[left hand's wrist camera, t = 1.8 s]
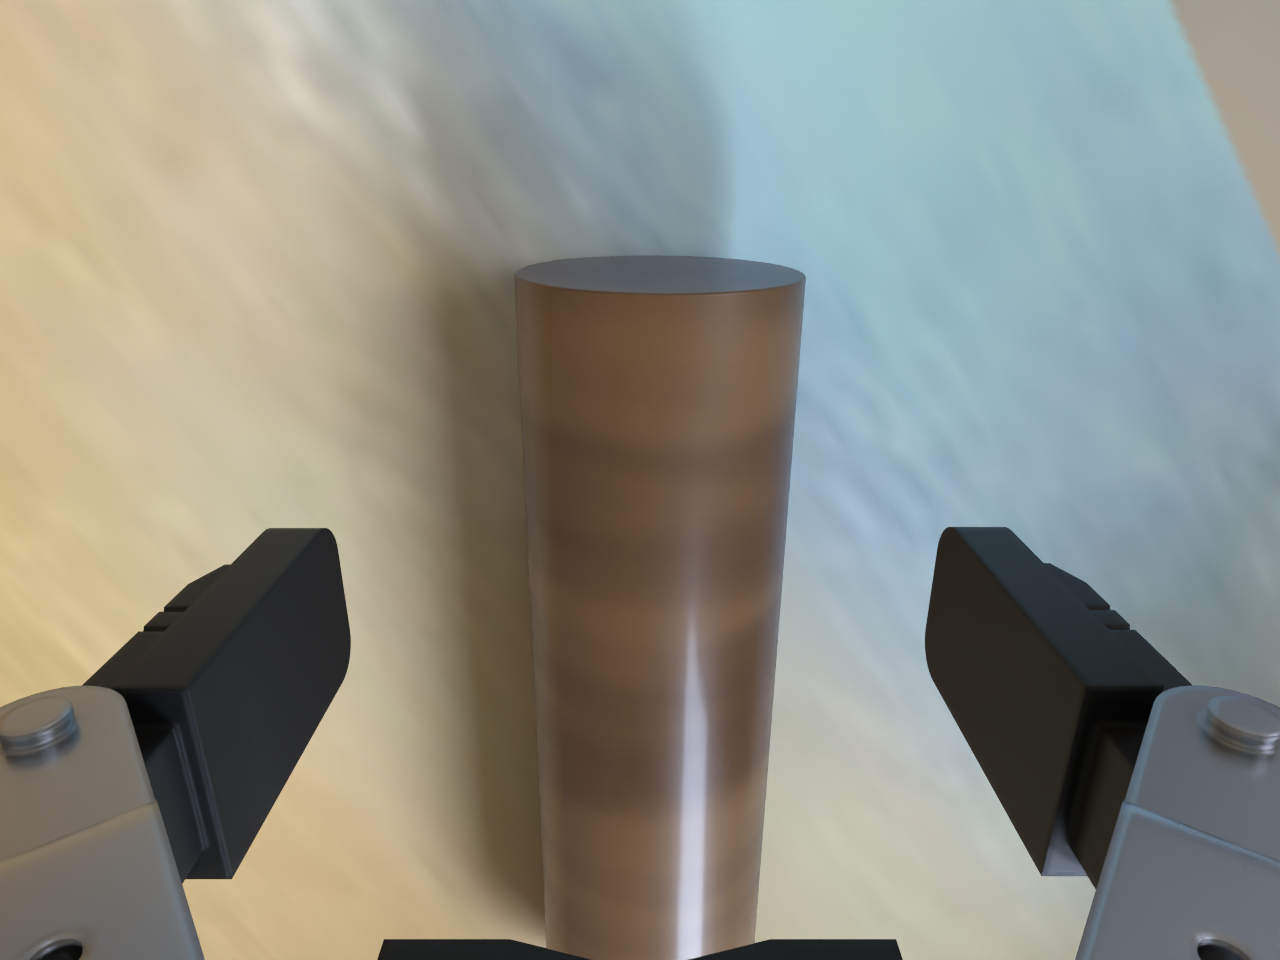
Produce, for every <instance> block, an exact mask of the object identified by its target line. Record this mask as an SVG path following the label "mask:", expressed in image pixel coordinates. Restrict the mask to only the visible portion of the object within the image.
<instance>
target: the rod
mask: <svg viewBox="0 0 1280 960" xmlns="http://www.w3.org/2000/svg"><path fill="white" fill-rule="evenodd" d="M805 280H806V277H805V275H804V274H803V273H802V272H800V271H798V270H795V269H792V268H789V267H785V266H780V265H775V264H769V263H763V262H755V261H747V260H737V259H725V258H710V257H688V256H612V257H592V258H578V259H567V260H558V261H551V262H544V263H539V264H534V265H530V266H527V267H524V268H521V269H520V270H518V271H517V272H516V273H515V295H516V316H517V337H518V358H519V379H520V400H521V421H522V442H523V463H524V484H525V505H526V526H527V547H528V568H529V589H530V610H531V631H532V653H533V674H534V695H535V716H536V737H537V758H538V779H539V800H540V821H541V842H542V863H543V884H544V905H545V926H546V947H547V949H551V950H555V951H559V952H563V953H567V954H571V955H575V956H579V957H583V958H587V959H591V960H689V959H693V958H697V957H701V956H705V955H709V954H713V953H717V952H721V951H725V950H729V949H733V948H738V947H742V946H746V945H750V944H754V941H755V928H756V915H757V902H758V889H759V876H760V863H761V850H762V837H763V824H764V811H765V798H766V785H767V772H768V759H769V746H770V734H771V721H772V708H773V695H774V682H775V669H776V656H777V643H778V630H779V617H780V604H781V591H782V578H783V565H784V552H785V539H786V526H787V513H788V501H789V488H790V475H791V462H792V449H793V436H794V423H795V410H796V397H797V384H798V371H799V358H800V345H801V332H802V319H803V306H804V293H805Z"/></svg>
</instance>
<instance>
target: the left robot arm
mask: <svg viewBox="0 0 1280 960" xmlns="http://www.w3.org/2000/svg"><path fill="white" fill-rule="evenodd" d="M350 647H351V639H350V628H349V622H348V615H347V608H346V601H345V595H344V588H343V581H342V574H341V568H340V561H339V554H338V548H337V543H336V540H335V537H334V535H333V534H332V532H331V531H330V530H329V529H327V528H269V529H266V530H265V531H264V532H263V533H262V534H261V535H260V536H259V537H258V538H257V539H256V540H255V541H254V542H253V543H252V544H251V545H250V546H249V547H248V548H247V549H246V550H245V551H244V552H243V553H242V554H241V555H240V556H239V557H238V558H237V559H236V560H235V561H234V562H233V563H232V564H231V565H223V566H222V567H220V568H218V569H216V570H214V571H212V572H210V573H208V574H207V575H205V576H203V577H201V578H199V579H197V580H195V581H193V582H192V583H190V584H188V585H187V586H186V587H185V588H184V589H183V590H182V591H181V592H180V593H179V594H177V595H176V596H175V597H174V598H173V599H172V600H171V601H170V602H169V603H168V604H167V605H166V606H165V607H164V612H159V613H158V614H157V615H155V616H154V617H153V618H152V619H151V620H150V621H149V622H148V623H147V624H146V625H145V626H144V631H143V632H138V633H137V634H136V635H135V636H133V637H132V638H131V639H130V640H129V641H128V642H127V643H126V644H125V645H124V646H123V647H122V648H121V649H120V650H119V651H118V652H117V653H116V654H115V655H114V656H113V657H111V658H110V659H109V660H108V661H107V662H106V663H105V664H104V665H103V666H102V667H101V668H100V669H99V670H98V671H97V672H96V673H95V674H94V675H93V676H92V677H91V678H89V679H88V680H87V681H86V682H85V683H84V684H83V685H82V686H72V687H63V688H58V689H53V690H48V691H45V692H41V693H37V694H33V695H31V696H28V697H25V698H22V699H19V700H16V701H14V702H12V703H9V704H7V705H4V706H2V707H0V960H205V959H204V956H203V952H202V949H201V946H200V942H199V939H198V936H197V932H196V929H195V926H194V922H193V919H192V916H191V912H190V909H189V906H188V902H187V899H186V896H185V892H184V889H183V886H182V883H183V882H184V880H185V879H232V878H233V876H234V874H235V872H236V870H237V869H238V867H239V865H240V863H241V862H242V860H243V858H244V856H245V854H246V853H247V851H248V849H249V847H250V846H251V844H252V842H253V840H254V838H255V837H256V835H257V833H258V831H259V830H260V828H261V826H262V824H263V822H264V821H265V819H266V817H267V815H268V814H269V812H270V810H271V808H272V806H273V805H274V803H275V801H276V799H277V798H278V796H279V794H280V792H281V790H282V789H283V787H284V785H285V783H286V782H287V780H288V778H289V776H290V774H291V773H292V771H293V769H294V767H295V766H296V764H297V762H298V760H299V758H300V757H301V755H302V753H303V751H304V750H305V748H306V746H307V744H308V743H309V741H310V739H311V737H312V735H313V734H314V732H315V730H316V728H317V727H318V725H319V723H320V721H321V719H322V718H323V716H324V714H325V712H326V711H327V709H328V707H329V705H330V703H331V702H332V700H333V698H334V696H335V695H336V693H337V691H338V689H339V687H340V686H341V684H342V682H343V680H344V678H345V675H346V672H347V668H348V664H349V658H350ZM925 651H926V659H927V664H928V668H929V672H930V675H931V677H932V679H933V681H934V683H935V685H936V687H937V689H938V690H939V692H940V694H941V696H942V698H943V699H944V701H945V703H946V705H947V707H948V708H949V710H950V712H951V714H952V716H953V717H954V719H955V721H956V723H957V725H958V726H959V728H960V730H961V732H962V734H963V735H964V737H965V739H966V741H967V743H968V744H969V746H970V748H971V750H972V752H973V753H974V755H975V757H976V759H977V761H978V762H979V764H980V766H981V768H982V770H983V771H984V773H985V775H986V777H987V779H988V780H989V782H990V784H991V786H992V788H993V789H994V791H995V793H996V795H997V797H998V798H999V800H1000V802H1001V804H1002V806H1003V807H1004V809H1005V811H1006V813H1007V815H1008V816H1009V818H1010V820H1011V822H1012V824H1013V825H1014V827H1015V829H1016V831H1017V833H1018V834H1019V836H1020V838H1021V840H1022V842H1023V843H1024V845H1025V847H1026V849H1027V851H1028V852H1029V854H1030V856H1031V858H1032V860H1033V861H1034V863H1035V865H1036V867H1037V869H1038V870H1039V872H1040V874H1041V876H1088V877H1089V879H1090V881H1091V882H1092V884H1093V885H1094V887H1095V889H1096V892H1095V896H1094V899H1093V902H1092V906H1091V909H1090V912H1089V916H1088V919H1087V922H1086V926H1085V929H1084V932H1083V936H1082V939H1081V942H1080V946H1079V949H1078V952H1077V956H1076V959H1075V960H1280V707H1278V706H1276V705H1273V704H1271V703H1268V702H1266V701H1264V700H1261V699H1258V698H1255V697H1252V696H1249V695H1247V694H1243V693H1239V692H1235V691H1232V690H1227V689H1222V688H1217V687H1208V686H1193V685H1192V684H1191V683H1190V682H1189V681H1188V680H1187V679H1186V678H1185V677H1184V676H1182V675H1181V674H1180V673H1179V672H1178V671H1177V670H1176V669H1175V668H1174V667H1173V666H1172V665H1171V664H1170V663H1169V662H1168V661H1167V660H1166V659H1165V658H1164V657H1163V656H1162V655H1161V654H1160V653H1159V652H1158V651H1157V650H1155V649H1154V648H1153V647H1152V646H1151V645H1150V644H1149V643H1148V642H1147V641H1146V640H1145V639H1144V638H1143V637H1142V636H1141V635H1140V634H1139V633H1138V632H1137V631H1136V630H1130V625H1129V624H1128V623H1127V622H1126V621H1125V620H1124V619H1123V618H1122V617H1121V616H1120V615H1119V614H1118V613H1117V612H1116V611H1115V610H1110V605H1109V604H1108V603H1107V602H1106V601H1105V600H1104V599H1102V598H1101V597H1100V596H1099V595H1098V594H1097V593H1096V592H1095V591H1094V590H1093V589H1092V588H1091V587H1090V586H1089V585H1088V584H1087V583H1086V582H1084V581H1082V580H1080V579H1078V578H1076V577H1074V576H1072V575H1071V574H1069V573H1067V572H1065V571H1063V570H1061V569H1059V568H1058V567H1056V566H1054V565H1052V564H1050V563H1043V562H1042V561H1041V560H1040V559H1039V558H1038V557H1037V556H1036V555H1035V554H1034V553H1033V552H1032V551H1031V550H1030V549H1029V548H1028V547H1027V546H1026V545H1025V544H1024V543H1023V542H1022V541H1021V540H1020V539H1019V538H1018V537H1017V536H1016V535H1015V534H1014V533H1013V532H1012V531H1011V530H1010V529H1009V528H1006V527H948V528H946V529H945V530H944V531H943V533H942V535H941V537H940V540H939V544H938V549H937V556H936V563H935V570H934V576H933V583H932V590H931V597H930V604H929V611H928V617H927V624H926V632H925ZM378 960H591V959H587V958H583V957H579V956H575V955H571V954H567V953H563V952H559V951H555V950H551V949H547V948H542V947H538V946H534V945H530V944H526V943H522V942H518V941H514V940H510V939H384V941H383V944H382V947H381V950H380V953H379V957H378ZM689 960H902V957H901V953H900V950H899V947H898V944H897V941H896V939H770V940H766V941H762V942H758V943H754V944H750V945H746V946H742V947H738V948H733V949H729V950H725V951H721V952H717V953H713V954H709V955H705V956H701V957H697V958H693V959H689Z"/></svg>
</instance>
